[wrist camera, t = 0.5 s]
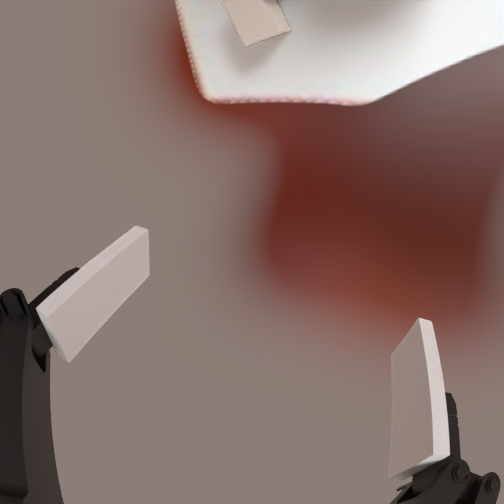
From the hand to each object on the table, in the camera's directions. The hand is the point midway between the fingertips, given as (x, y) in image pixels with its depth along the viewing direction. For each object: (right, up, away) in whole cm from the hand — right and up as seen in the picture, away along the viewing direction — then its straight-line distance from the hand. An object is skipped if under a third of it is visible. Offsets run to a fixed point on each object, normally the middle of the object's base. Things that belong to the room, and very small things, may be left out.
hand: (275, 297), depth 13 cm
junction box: (+1, +30, +13) cm, 32 cm away
